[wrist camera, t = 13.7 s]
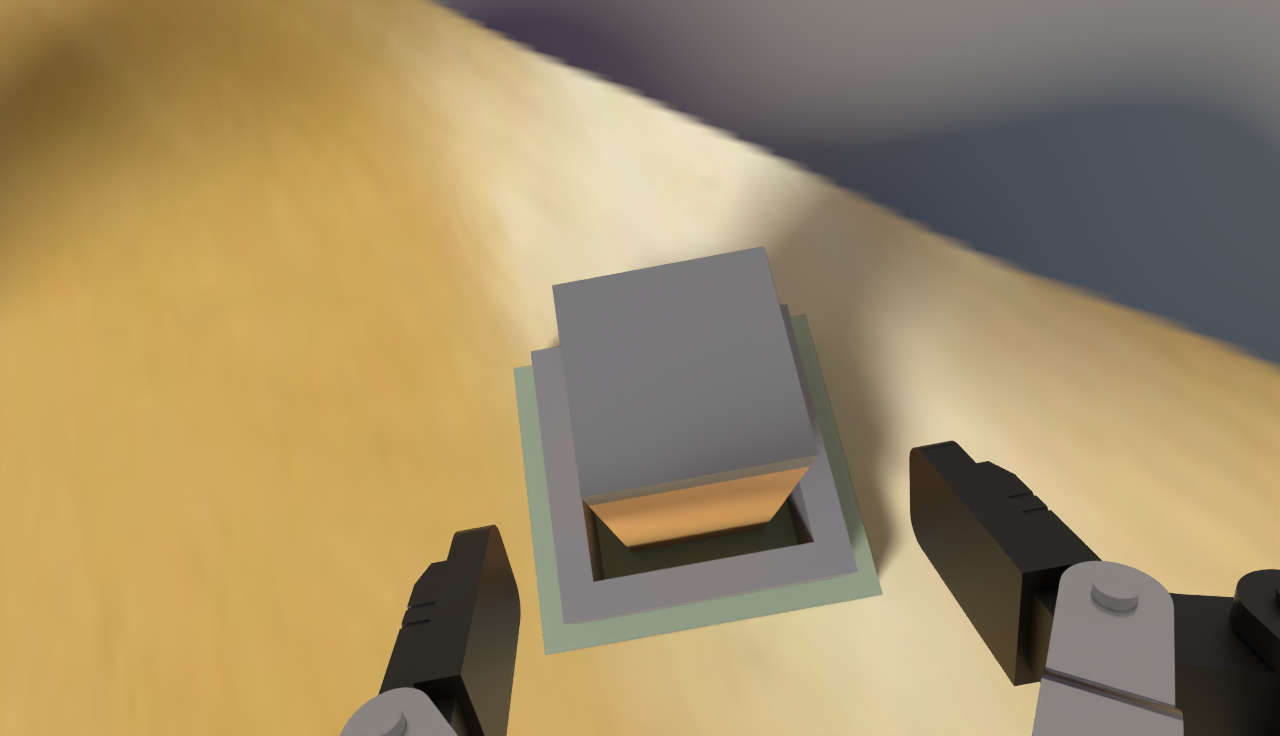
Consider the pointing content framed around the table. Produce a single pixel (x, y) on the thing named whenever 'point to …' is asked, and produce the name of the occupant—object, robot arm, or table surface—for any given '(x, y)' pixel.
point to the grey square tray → (693, 571)
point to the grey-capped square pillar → (683, 398)
